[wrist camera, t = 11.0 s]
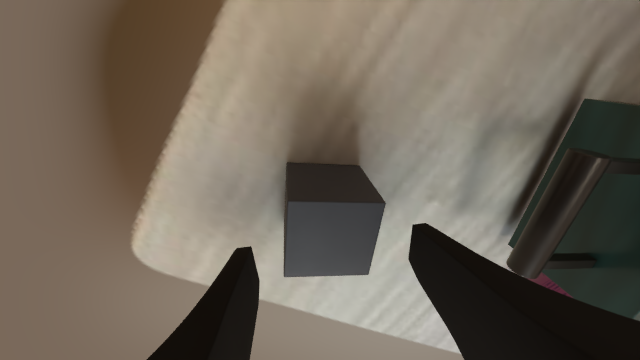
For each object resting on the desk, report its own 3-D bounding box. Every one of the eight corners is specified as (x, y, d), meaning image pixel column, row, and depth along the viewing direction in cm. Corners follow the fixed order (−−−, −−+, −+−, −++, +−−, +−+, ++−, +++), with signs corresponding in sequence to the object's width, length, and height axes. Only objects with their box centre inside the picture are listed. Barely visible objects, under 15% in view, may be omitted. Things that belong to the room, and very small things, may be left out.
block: (286, 162, 14) (287, 200, 10) (359, 165, 15) (386, 202, 11) (284, 224, 16) (283, 277, 12) (349, 225, 17) (368, 275, 13)
